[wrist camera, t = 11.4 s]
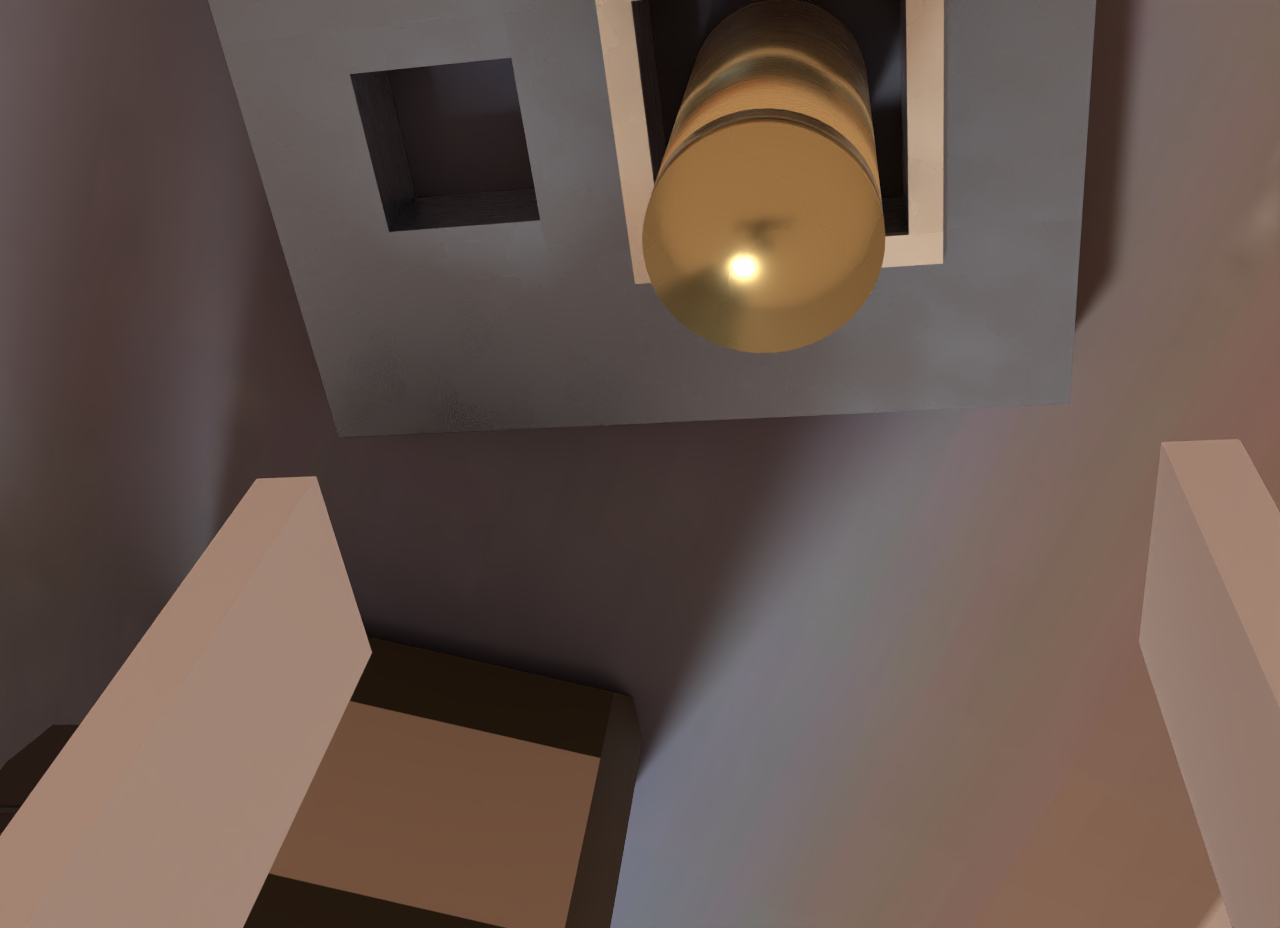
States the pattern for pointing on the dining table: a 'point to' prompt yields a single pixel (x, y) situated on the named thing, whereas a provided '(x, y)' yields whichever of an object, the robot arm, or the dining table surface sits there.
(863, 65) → the gold cylinder
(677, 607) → the dining table surface
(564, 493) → the dining table surface
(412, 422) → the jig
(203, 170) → the dining table surface
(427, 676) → the brown box
